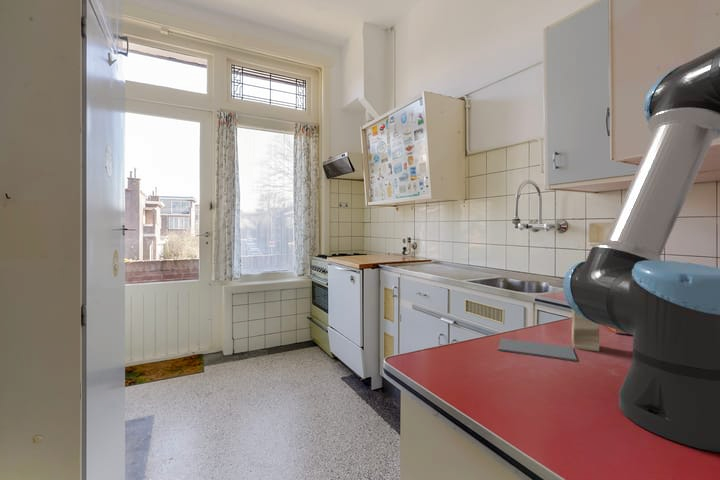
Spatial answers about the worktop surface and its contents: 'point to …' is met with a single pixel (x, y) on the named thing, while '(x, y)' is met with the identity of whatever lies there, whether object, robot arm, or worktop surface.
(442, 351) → the worktop surface
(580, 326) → the block
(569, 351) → the mat
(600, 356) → the worktop surface
